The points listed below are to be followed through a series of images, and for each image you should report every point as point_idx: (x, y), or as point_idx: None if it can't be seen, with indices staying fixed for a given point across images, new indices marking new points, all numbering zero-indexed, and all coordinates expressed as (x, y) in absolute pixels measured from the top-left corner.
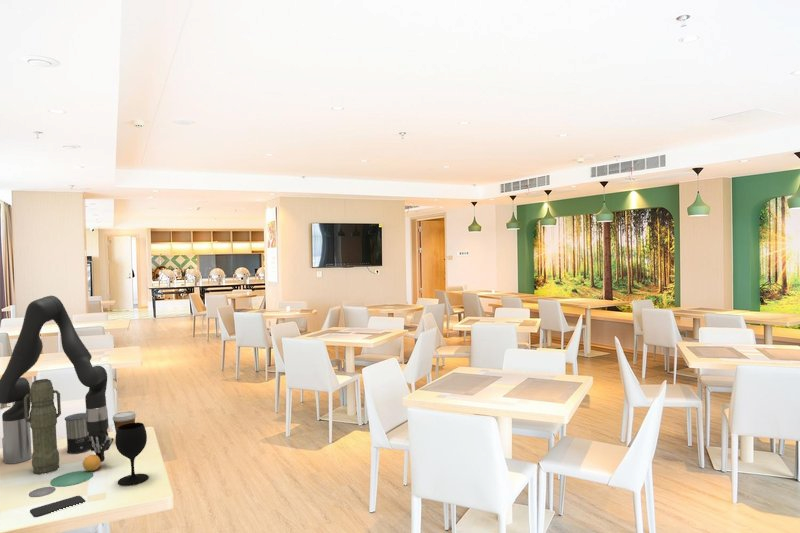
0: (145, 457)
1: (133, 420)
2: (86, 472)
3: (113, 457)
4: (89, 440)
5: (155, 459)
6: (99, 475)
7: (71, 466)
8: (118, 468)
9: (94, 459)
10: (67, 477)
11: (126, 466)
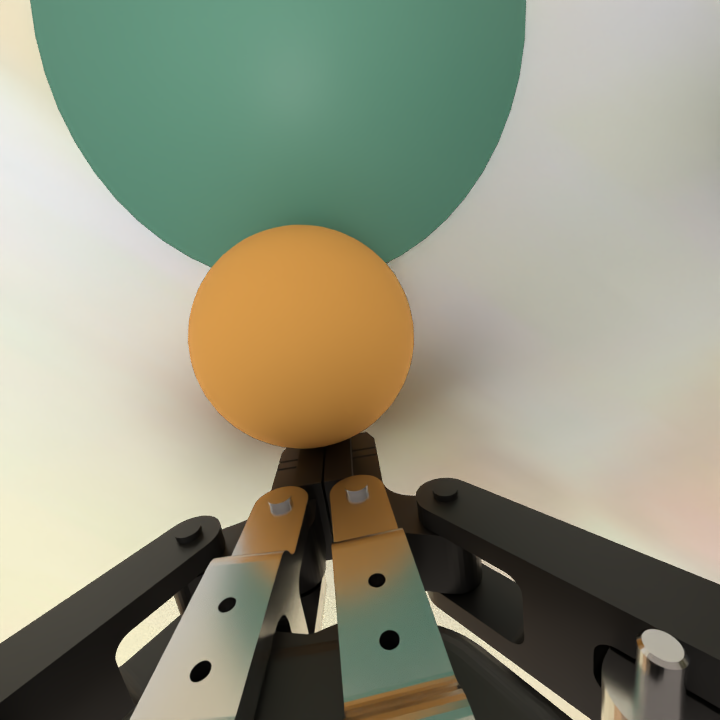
0: None
1: None
2: None
3: None
4: (633, 672)
5: None
6: (88, 259)
7: (645, 300)
8: (112, 462)
9: (194, 340)
10: (363, 24)
11: (95, 520)
